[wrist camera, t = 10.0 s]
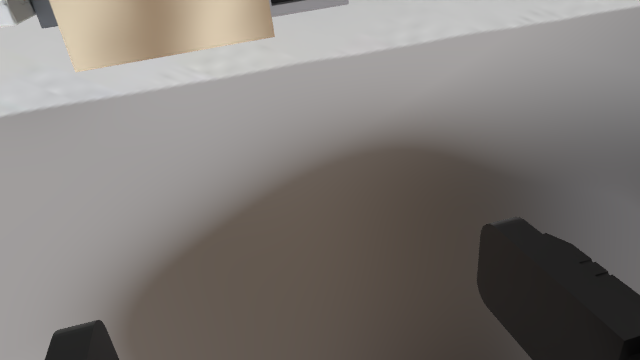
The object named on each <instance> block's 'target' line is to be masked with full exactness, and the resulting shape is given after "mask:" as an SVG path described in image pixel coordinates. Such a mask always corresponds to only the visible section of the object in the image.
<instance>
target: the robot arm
mask: <svg viewBox="0 0 640 360" xmlns="http://www.w3.org/2000/svg"><path fill="white" fill-rule="evenodd" d="M478 260H479V261H478V272H477V285H478V289H479V293H480V295H481V298H482V300H483V302H484V303H485V305H486V306H487V308H488V309H489V310H490V311H491V312H492V313H493V315H494V316H495V317H496V318H497V319H498V320H499V321H500V323H501V324H502V325H503V326H504V327H505V329H506V330H507V331H508V332H509V333H510V334H511V335H512V337H513V338H514V339H515V340H516V341H517V342H518V344H519V345H520V346H521V347H522V348H523V349H524V351H525V352H526V353H527V354H528V355H529V356H530V357H531V359H532V360H640V295H639V294H637V293H636V292H635V291H633V290H632V289H631V288H629V287H628V286H627V285H625V284H624V283H623V282H621V281H620V280H619V279H618V278H616V277H615V276H613V275H609V274H608V271H607V270H606V269H604V268H603V267H602V266H600V265H599V264H598V263H596V262H592V260H591V258H590V257H588V256H587V255H585V254H584V253H583V252H582V251H580V250H579V249H578V248H576V247H575V246H574V245H572V244H571V243H568V242H566V241H564V240H561V239H559V238H557V237H554V236H552V235H549V234H547V233H545V234H542V233H540V232H539V231H538V230H537V229H535V228H534V227H533V226H531V225H530V224H529V223H528V222H526V221H525V220H524V219H522V218H520V217H513V218H509V219H505V220H502V221H497V222H493V223H489V224H486V225H484V226H483V228H482V230H481V235H480V247H479V259H478ZM45 360H119V358H118V355H117V353H116V351H115V348H114V346H113V344H112V341H111V339H110V336H109V334H108V332H107V329H106V327H105V325H104V324H103V322H102V321H100V320H96V321H92V322H88V323H84V324H80V325H76V326H72V327H68V328H64V329H60V330H57V331H56V332H55V333H54V334H53V336H52V339H51V342H50V345H49V348H48V352H47V355H46V358H45Z"/></svg>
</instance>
